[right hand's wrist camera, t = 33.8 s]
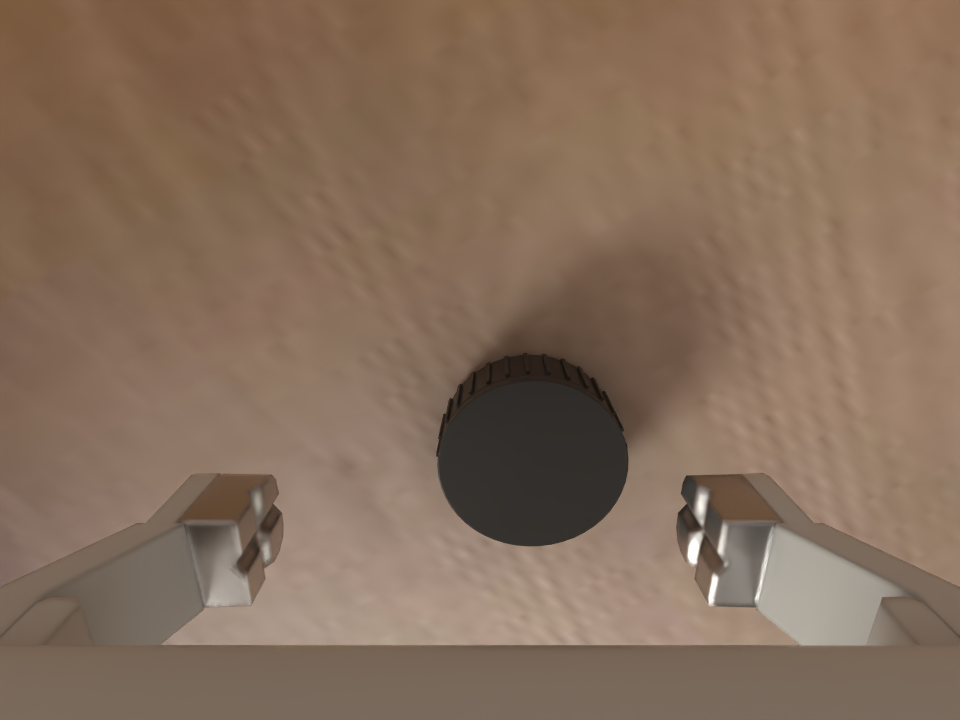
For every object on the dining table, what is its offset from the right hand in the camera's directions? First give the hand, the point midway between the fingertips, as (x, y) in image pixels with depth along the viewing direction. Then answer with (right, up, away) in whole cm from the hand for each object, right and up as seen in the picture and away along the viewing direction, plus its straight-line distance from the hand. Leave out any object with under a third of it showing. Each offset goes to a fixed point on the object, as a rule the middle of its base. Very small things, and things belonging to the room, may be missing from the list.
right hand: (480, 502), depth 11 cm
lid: (+1, 0, +4) cm, 4 cm away
